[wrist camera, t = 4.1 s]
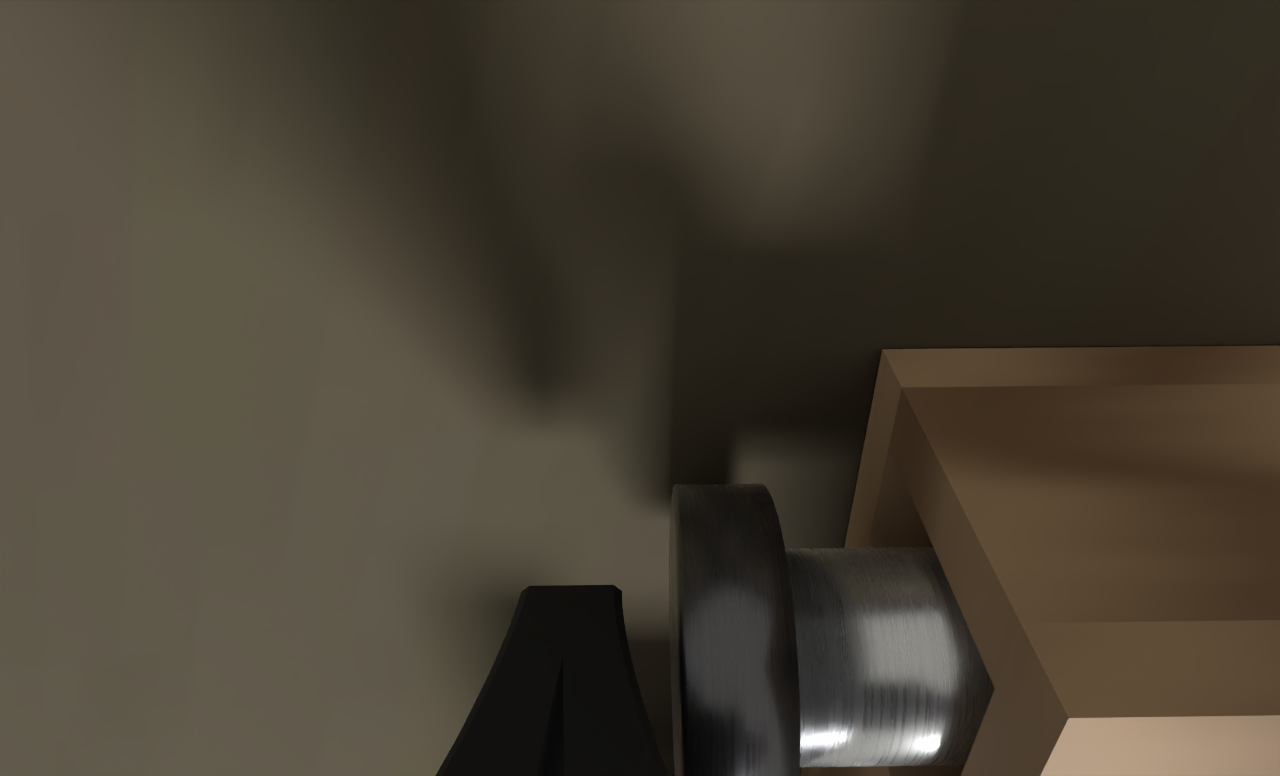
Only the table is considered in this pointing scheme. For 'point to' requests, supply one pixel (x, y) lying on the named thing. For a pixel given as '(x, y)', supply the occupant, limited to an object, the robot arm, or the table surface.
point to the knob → (810, 648)
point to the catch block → (1093, 548)
